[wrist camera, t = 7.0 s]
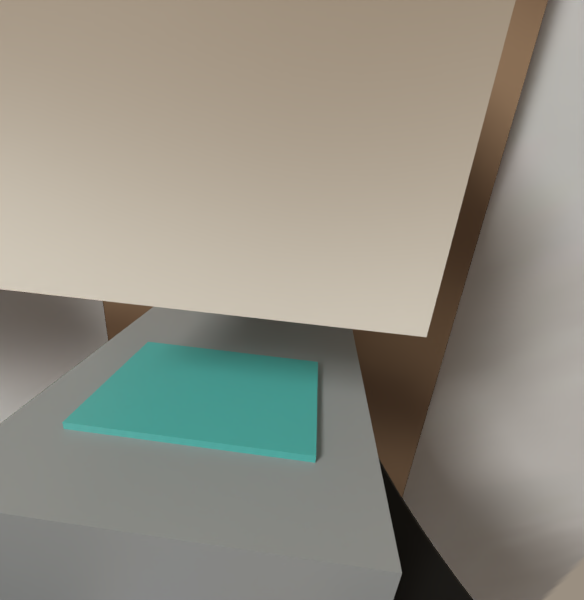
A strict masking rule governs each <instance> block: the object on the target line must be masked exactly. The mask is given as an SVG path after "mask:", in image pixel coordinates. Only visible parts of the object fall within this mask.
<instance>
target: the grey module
mask: <svg viewBox="0 0 584 600" xmlns="http://www.w3.org/2000/svg"><path fill="white" fill-rule="evenodd" d="M401 575H402V570H401V565H400V560H399V555H398V551H397V546H396V541H395V536H394V531H393V526H392V521H391V516H390V511H389V507H388V502H387V497H386V492H385V487H384V482H383V477H382V472H381V467H380V463H379V458H378V453H377V448H376V443H375V438H374V433H373V428H372V423H371V419H370V414H369V409H368V404H367V399H366V394H365V389H364V384H363V379H362V375H361V370H360V365H359V360H358V355H357V350H356V345H355V340H354V335H353V331H352V329H348V328H340V327H331V326H322V325H313V324H304V323H295V322H286V321H277V320H269V319H260V318H251V317H242V316H233V315H224V314H215V313H206V312H198V311H189V310H180V309H171V308H162V307H153V308H151V309H150V310H149V311H147V312H146V313H145V314H143V315H142V316H141V317H139V318H138V319H137V320H135V321H134V322H133V323H132V324H130V325H129V326H128V327H126V328H125V329H124V330H122V331H121V332H120V333H118V334H117V335H116V336H114V337H113V338H112V339H111V340H109V341H108V342H107V343H105V344H104V345H103V346H101V347H100V348H99V349H97V350H96V351H95V352H94V353H92V354H91V355H90V356H88V357H87V358H86V359H84V360H83V361H82V362H80V363H79V364H78V365H76V366H75V367H74V368H73V369H71V370H70V371H69V372H67V373H66V374H65V375H63V376H62V377H61V378H59V379H58V380H57V381H55V382H54V383H53V384H52V385H50V386H49V387H48V388H46V389H45V390H44V391H42V392H41V393H40V394H38V395H37V396H36V397H34V398H33V399H32V400H31V401H29V402H28V403H27V404H25V405H24V406H23V407H21V408H20V409H19V410H17V411H16V412H15V413H14V414H12V415H11V416H10V417H8V418H7V419H6V420H4V421H3V422H2V423H0V600H393V599H394V596H395V593H396V590H397V587H398V584H399V581H400V578H401Z"/></svg>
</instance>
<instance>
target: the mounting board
mask: <svg viewBox="0 0 584 600" xmlns="http://www.w3.org/2000/svg"><path fill="white" fill-rule="evenodd" d="M547 2H548V0H0V289H2V290H11V291H20V292H29V293H38V294H47V295H56V296H64V297H73V298H82V299H91V300H100V301H103V306H104V313H105V320H106V327H107V334H108V341H109V340H111V339H112V338H113V337H114V336H116V335H117V334H118V333H120V332H121V331H122V330H124V329H125V328H126V327H128V326H129V325H130V324H132V323H133V322H134V321H135V320H137V319H138V318H139V317H141V316H142V315H143V314H145V313H146V312H147V311H149V310H150V309H151V308H153V307H162V308H171V309H180V310H189V311H198V312H206V313H215V314H224V315H233V316H242V317H251V318H260V319H269V320H277V321H286V322H295V323H304V324H313V325H322V326H331V327H340V328H348V329H352V331H353V335H354V340H355V345H356V350H357V355H358V360H359V365H360V370H361V375H362V379H363V384H364V389H365V394H366V399H367V404H368V409H369V414H370V419H371V423H372V428H373V433H374V438H375V443H376V448H377V453H378V457H379V459H380V461H381V463H382V464H383V466H384V468H385V470H386V471H387V473H388V475H389V477H390V478H391V480H392V482H393V483H394V485H395V487H396V489H397V490H398V492H399V494H400V495H401V497H402V496H403V493H404V489H405V486H406V482H407V479H408V476H409V472H410V469H411V465H412V462H413V459H414V455H415V452H416V448H417V445H418V442H419V438H420V435H421V431H422V428H423V424H424V421H425V418H426V414H427V411H428V407H429V404H430V401H431V397H432V394H433V390H434V387H435V384H436V380H437V377H438V373H439V370H440V367H441V363H442V360H443V356H444V353H445V350H446V346H447V343H448V339H449V336H450V332H451V329H452V326H453V322H454V319H455V315H456V312H457V309H458V305H459V302H460V298H461V295H462V292H463V288H464V285H465V281H466V278H467V275H468V271H469V268H470V264H471V261H472V258H473V254H474V251H475V247H476V244H477V240H478V237H479V234H480V230H481V227H482V223H483V220H484V217H485V213H486V210H487V206H488V203H489V200H490V196H491V193H492V189H493V186H494V183H495V179H496V176H497V172H498V169H499V166H500V162H501V159H502V155H503V152H504V148H505V145H506V142H507V138H508V135H509V131H510V128H511V125H512V121H513V118H514V114H515V111H516V108H517V104H518V101H519V97H520V94H521V91H522V87H523V84H524V80H525V77H526V74H527V70H528V67H529V63H530V60H531V56H532V53H533V50H534V46H535V43H536V39H537V36H538V33H539V29H540V26H541V22H542V19H543V16H544V12H545V9H546V5H547Z"/></svg>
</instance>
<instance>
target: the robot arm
mask: <svg viewBox="0 0 584 600" xmlns="http://www.w3.org/2000/svg"><path fill="white" fill-rule="evenodd" d="M378 458H379V457H378ZM379 463H380V467H381V472H382V477H383V482H384V487H385V492H386V497H387V502H388V507H389V511H390V516H391V521H392V526H393V531H394V536H395V541H396V546H397V551H398V555H399V560H400V565H401V570H402V575H401V578H400V581H399V584H398V587H397V590H396V593H395V596H394V599H393V600H473V599H472V598H471V596H470V595H469V594H468V592H467V591H466V590H465V588H464V587H463V586H462V585H461V583H460V582H459V580H458V579H457V578H456V576H455V575H454V574H453V572H452V571H451V570H450V568H449V567H448V565H447V564H446V563H445V561H444V560H443V559H442V557H441V556H440V554H439V553H438V552H437V550H436V549H435V547H434V546H433V544H432V543H431V542H430V540H429V539H428V537H427V536H426V534H425V533H424V531H423V530H422V528H421V527H420V525H419V524H418V522H417V520H416V519H415V517H414V516H413V514H412V513H411V511H410V510H409V508H408V507H407V505H406V503H405V502H404V500H403V498H402V497H401V495H400V494H399V492H398V490H397V489H396V487H395V485H394V483H393V482H392V480H391V478H390V477H389V475H388V473H387V471H386V470H385V468H384V466H383V464H382V463H381V461H380V459H379Z"/></svg>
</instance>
